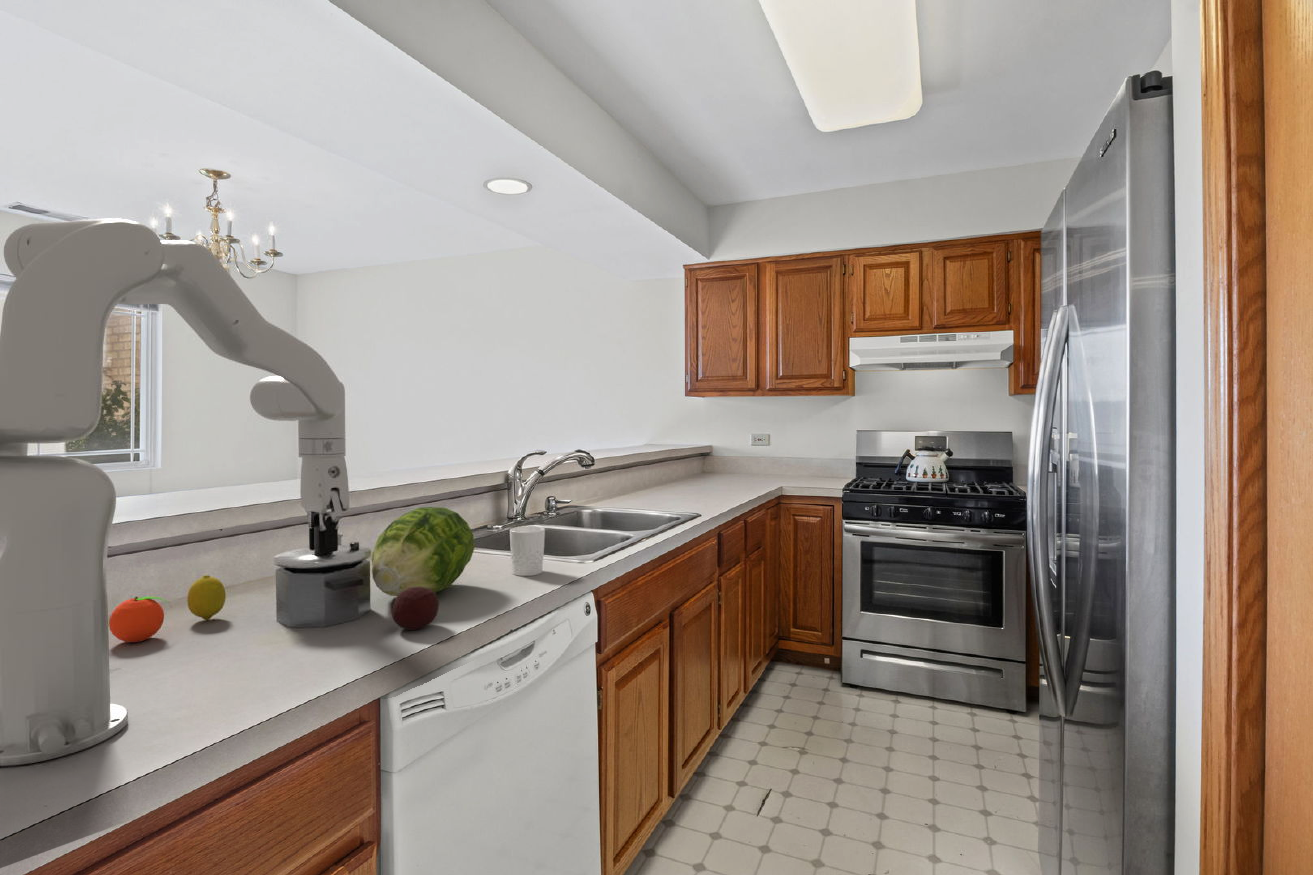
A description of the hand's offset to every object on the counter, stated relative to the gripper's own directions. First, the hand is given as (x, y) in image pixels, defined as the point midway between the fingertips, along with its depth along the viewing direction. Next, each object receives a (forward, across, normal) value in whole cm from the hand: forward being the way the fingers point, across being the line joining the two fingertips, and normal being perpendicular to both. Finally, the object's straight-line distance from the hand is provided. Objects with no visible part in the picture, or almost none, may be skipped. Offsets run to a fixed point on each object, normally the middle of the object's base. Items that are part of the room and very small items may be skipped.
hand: (323, 549), depth 119 cm
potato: (+12, -19, -7) cm, 24 cm away
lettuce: (+12, -1, -18) cm, 22 cm away
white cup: (+12, -2, -44) cm, 46 cm away
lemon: (+12, +12, +15) cm, 23 cm away
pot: (+12, 0, 0) cm, 12 cm away
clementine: (+12, +8, +25) cm, 29 cm away
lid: (+2, 0, 0) cm, 2 cm away
